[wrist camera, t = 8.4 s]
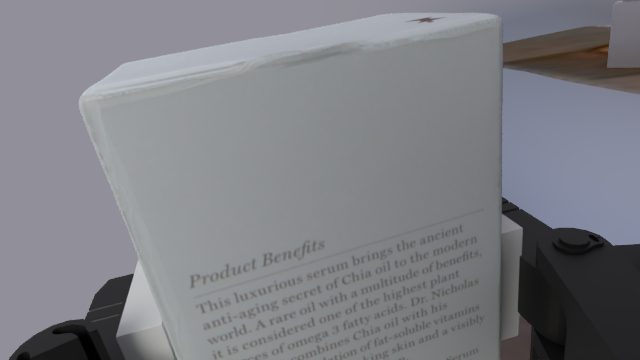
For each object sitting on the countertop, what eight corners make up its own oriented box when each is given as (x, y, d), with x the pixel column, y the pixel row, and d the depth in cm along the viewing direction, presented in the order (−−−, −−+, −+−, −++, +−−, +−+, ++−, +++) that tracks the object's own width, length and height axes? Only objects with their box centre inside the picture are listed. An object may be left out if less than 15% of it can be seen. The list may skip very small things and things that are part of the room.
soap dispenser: (649, 59, 105) (663, -42, 96) (639, 67, 99) (653, -39, 91) (617, 59, 109) (629, -37, 101) (606, 67, 104) (617, -34, 95)
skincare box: (419, 386, 15) (390, 11, 10) (504, 516, 11) (520, 7, 6) (243, 454, 13) (115, 59, 9) (268, 630, 10) (64, 92, 5)
